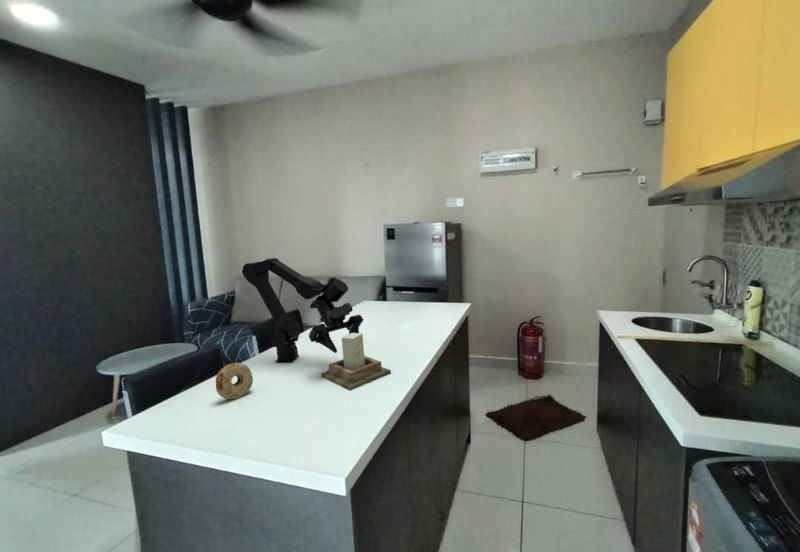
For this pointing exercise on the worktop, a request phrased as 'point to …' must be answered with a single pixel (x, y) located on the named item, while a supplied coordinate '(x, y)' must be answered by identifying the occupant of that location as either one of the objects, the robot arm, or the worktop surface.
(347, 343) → the skincare box
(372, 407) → the worktop surface
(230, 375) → the stone disc
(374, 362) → the socket
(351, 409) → the worktop surface
